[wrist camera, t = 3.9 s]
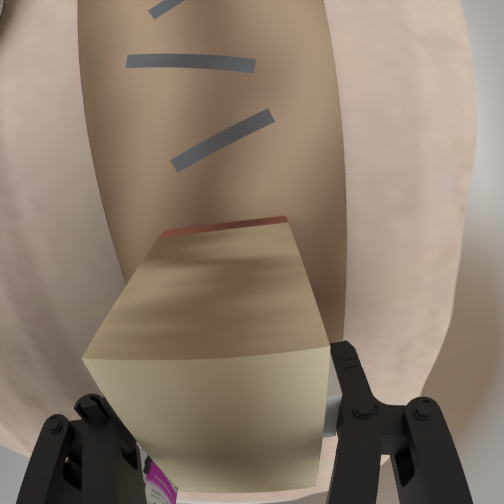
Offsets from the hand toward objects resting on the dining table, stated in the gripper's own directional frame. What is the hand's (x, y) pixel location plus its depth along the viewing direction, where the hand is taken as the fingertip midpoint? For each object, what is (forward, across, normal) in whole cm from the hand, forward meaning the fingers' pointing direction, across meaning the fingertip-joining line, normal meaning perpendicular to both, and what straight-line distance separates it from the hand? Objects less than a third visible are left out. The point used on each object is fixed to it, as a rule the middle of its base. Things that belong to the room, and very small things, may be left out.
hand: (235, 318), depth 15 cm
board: (+2, 0, +9) cm, 10 cm away
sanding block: (+2, 0, 0) cm, 2 cm away
